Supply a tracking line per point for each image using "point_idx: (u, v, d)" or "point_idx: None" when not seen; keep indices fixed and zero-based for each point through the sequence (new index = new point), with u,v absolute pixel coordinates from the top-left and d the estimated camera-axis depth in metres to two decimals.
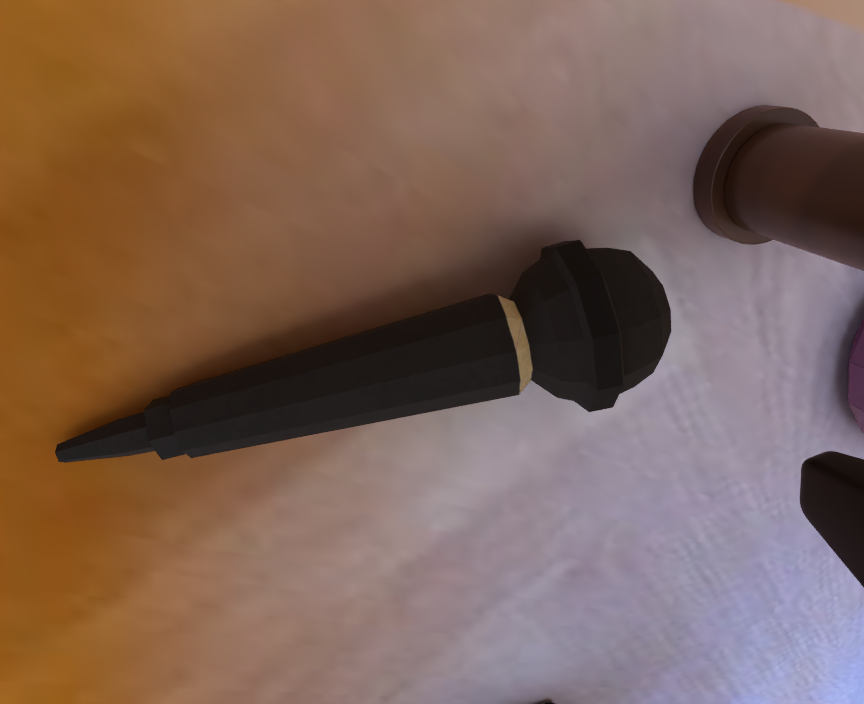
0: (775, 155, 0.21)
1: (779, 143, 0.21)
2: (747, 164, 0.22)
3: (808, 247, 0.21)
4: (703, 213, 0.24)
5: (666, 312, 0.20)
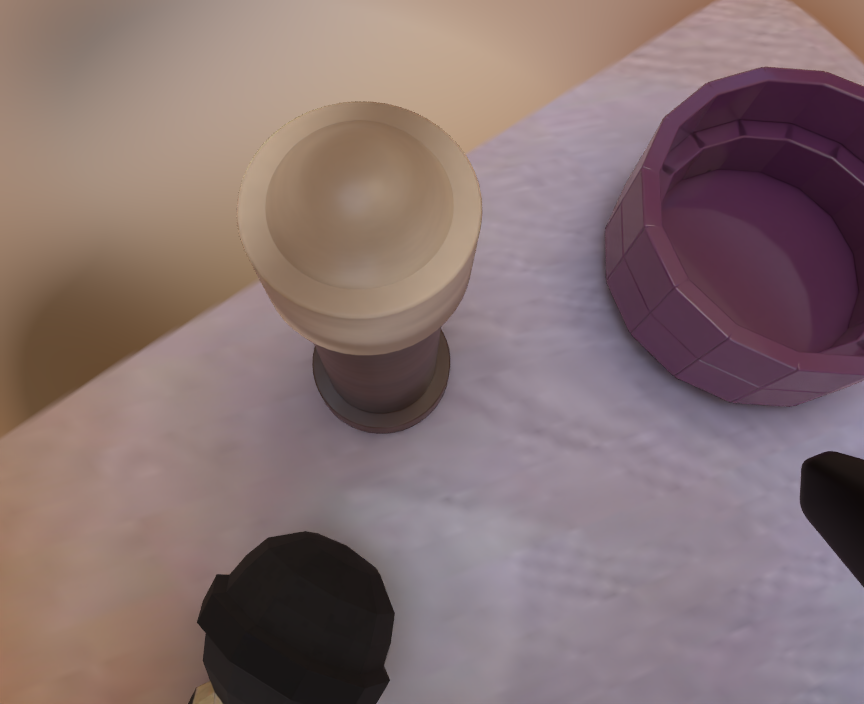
0: None
1: None
2: (329, 378, 0.22)
3: (386, 386, 0.19)
4: (369, 430, 0.23)
5: (311, 559, 0.17)
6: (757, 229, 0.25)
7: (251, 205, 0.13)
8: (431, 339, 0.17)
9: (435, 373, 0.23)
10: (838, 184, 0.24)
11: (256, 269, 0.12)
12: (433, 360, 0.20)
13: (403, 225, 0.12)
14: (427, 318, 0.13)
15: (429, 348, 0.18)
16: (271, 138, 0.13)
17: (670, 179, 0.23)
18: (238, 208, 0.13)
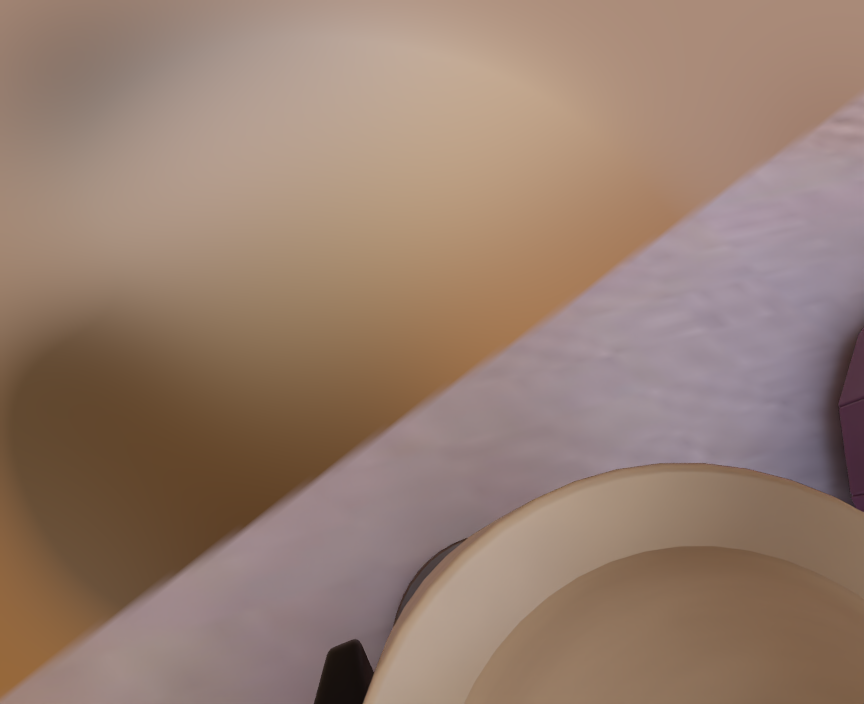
0: None
1: None
2: None
3: None
4: None
5: None
6: None
7: None
8: None
9: None
10: None
11: None
12: None
13: None
14: None
15: None
16: (427, 612, 0.04)
17: None
18: None
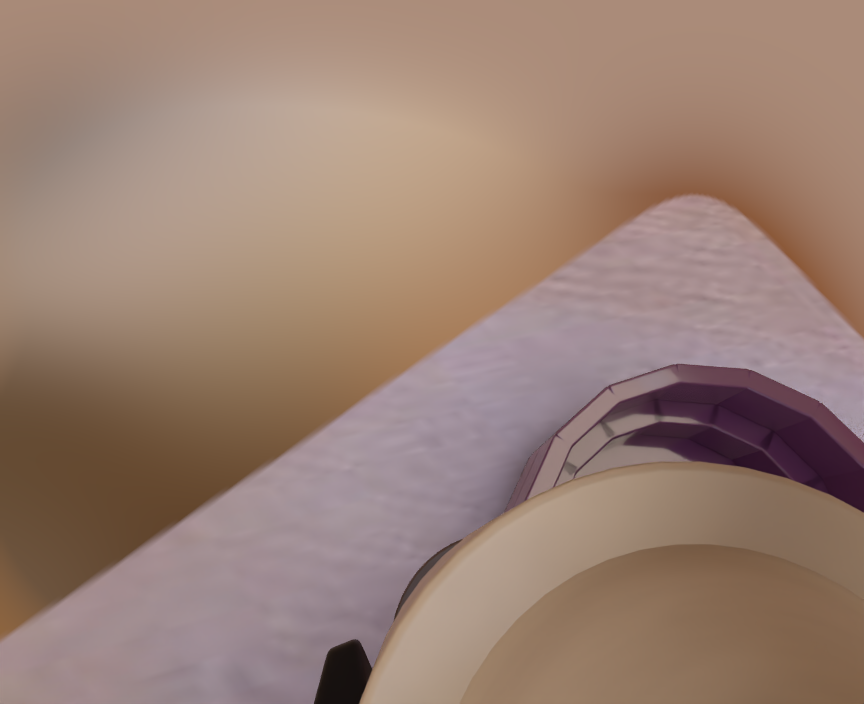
0: None
1: None
2: None
3: None
4: None
5: None
6: None
7: None
8: None
9: None
10: None
11: None
12: None
13: None
14: None
15: None
16: (424, 611, 0.04)
17: None
18: None
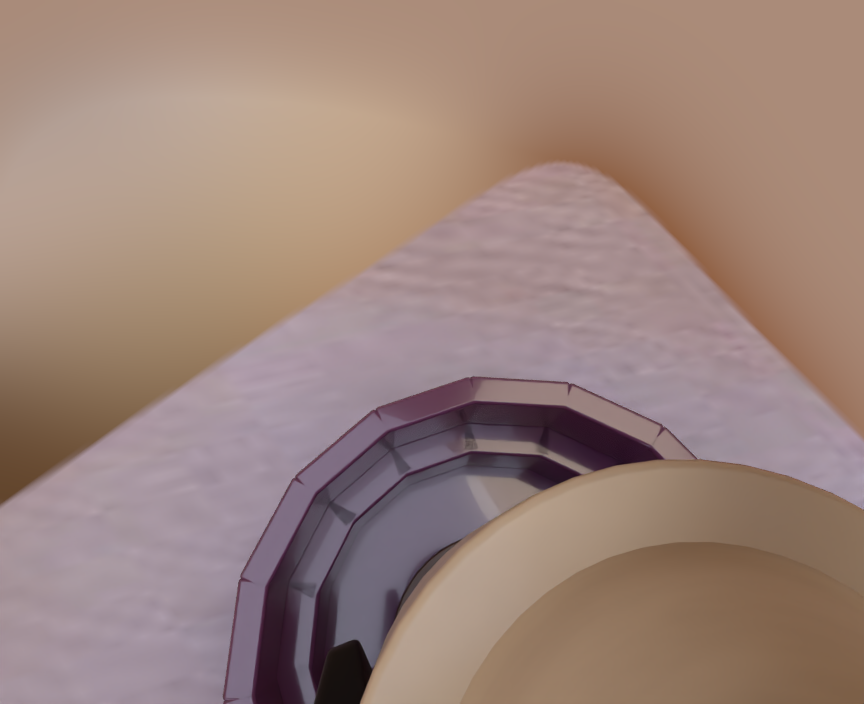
0: None
1: None
2: None
3: None
4: None
5: None
6: None
7: None
8: None
9: None
10: None
11: None
12: None
13: None
14: None
15: None
16: (425, 608, 0.04)
17: (345, 534, 0.15)
18: None
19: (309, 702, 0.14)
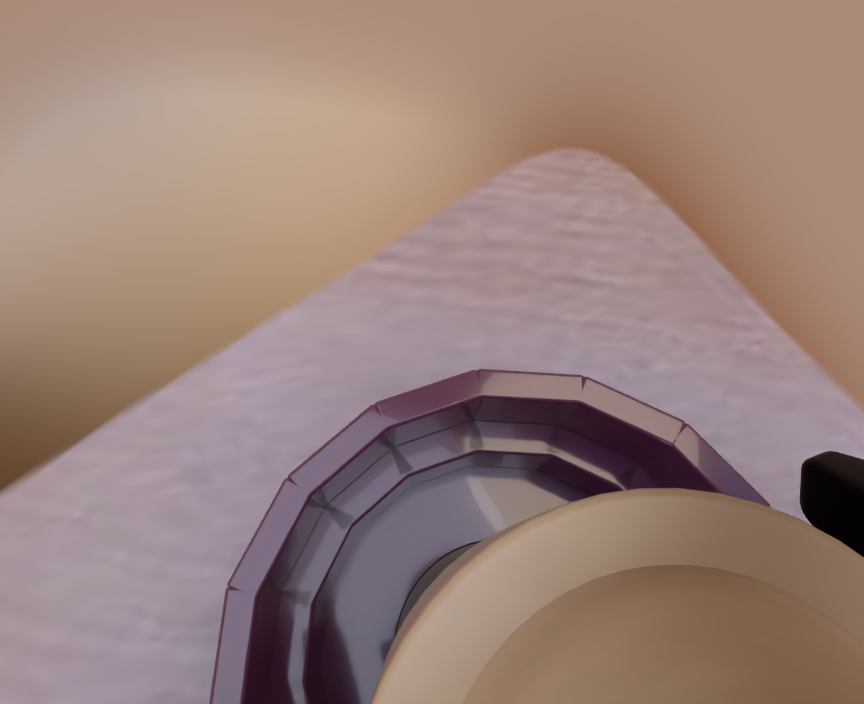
0: None
1: None
2: None
3: None
4: None
5: None
6: None
7: None
8: None
9: None
10: None
11: None
12: None
13: None
14: None
15: None
16: (428, 625, 0.05)
17: (342, 538, 0.14)
18: None
19: None
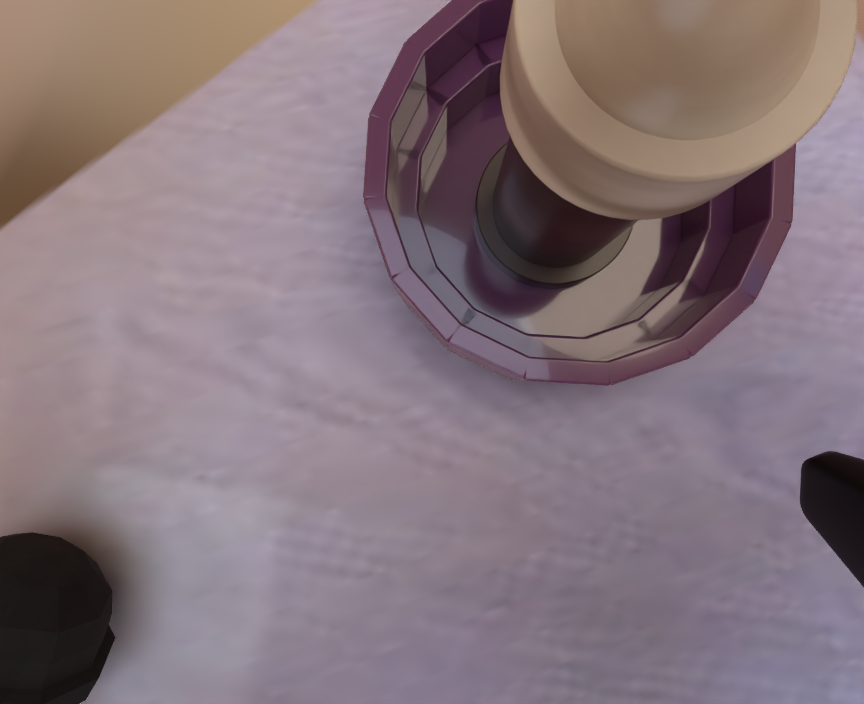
0: (499, 204, 0.18)
1: (496, 190, 0.18)
2: (502, 228, 0.19)
3: (594, 243, 0.16)
4: (539, 285, 0.20)
5: None
6: None
7: (535, 18, 0.09)
8: None
9: None
10: None
11: (548, 113, 0.09)
12: None
13: (777, 45, 0.08)
14: (749, 174, 0.10)
15: None
16: None
17: (440, 112, 0.19)
18: (518, 22, 0.09)
19: (417, 232, 0.19)
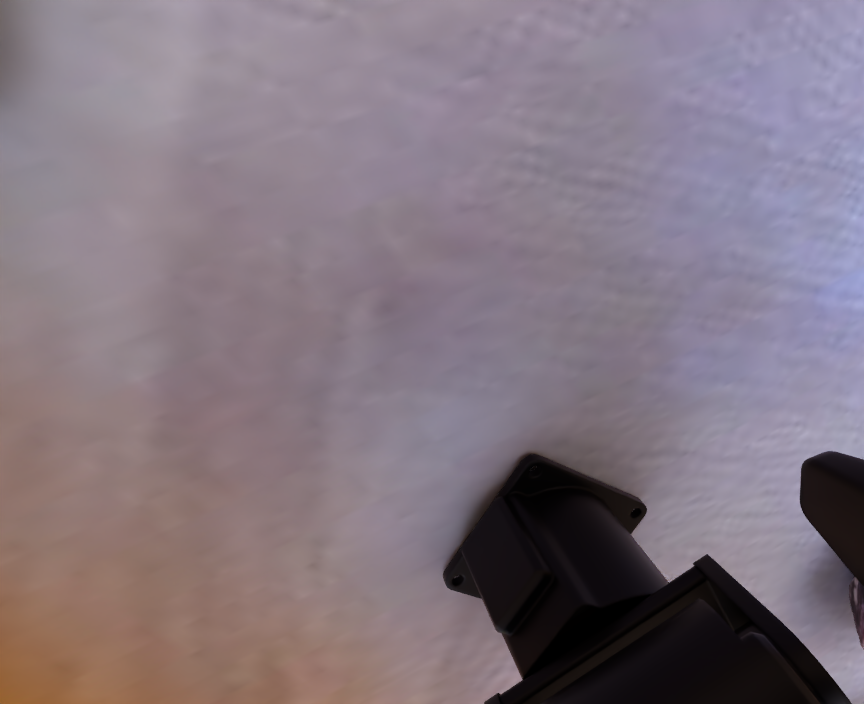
0: None
1: None
2: None
3: None
4: None
5: None
6: None
7: None
8: None
9: None
10: None
11: None
12: None
13: None
14: None
15: None
16: None
17: None
18: None
19: None
